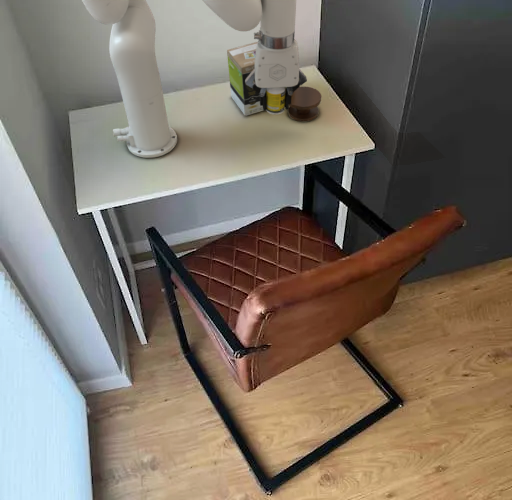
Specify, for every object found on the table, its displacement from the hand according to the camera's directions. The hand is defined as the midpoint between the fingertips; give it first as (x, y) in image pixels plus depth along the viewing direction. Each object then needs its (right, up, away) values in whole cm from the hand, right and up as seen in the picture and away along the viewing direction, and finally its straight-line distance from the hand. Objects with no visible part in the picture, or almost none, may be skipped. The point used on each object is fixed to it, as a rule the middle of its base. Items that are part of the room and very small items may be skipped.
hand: (275, 106), depth 141 cm
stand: (+8, +1, +12) cm, 14 cm away
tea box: (-3, +5, +16) cm, 17 cm away
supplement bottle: (0, -1, +1) cm, 1 cm away
